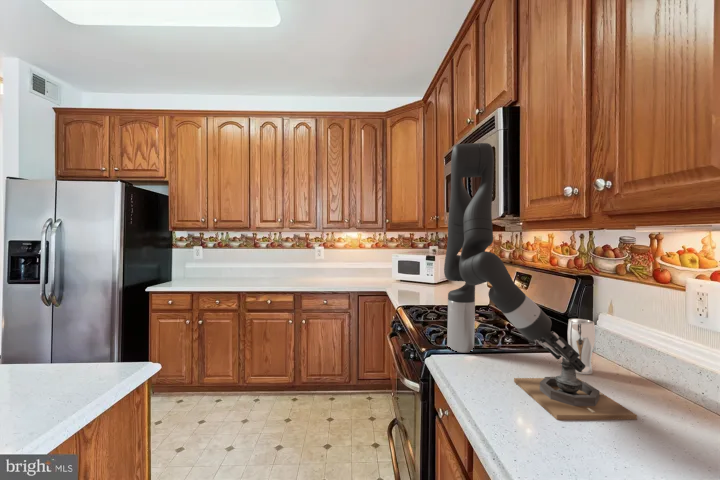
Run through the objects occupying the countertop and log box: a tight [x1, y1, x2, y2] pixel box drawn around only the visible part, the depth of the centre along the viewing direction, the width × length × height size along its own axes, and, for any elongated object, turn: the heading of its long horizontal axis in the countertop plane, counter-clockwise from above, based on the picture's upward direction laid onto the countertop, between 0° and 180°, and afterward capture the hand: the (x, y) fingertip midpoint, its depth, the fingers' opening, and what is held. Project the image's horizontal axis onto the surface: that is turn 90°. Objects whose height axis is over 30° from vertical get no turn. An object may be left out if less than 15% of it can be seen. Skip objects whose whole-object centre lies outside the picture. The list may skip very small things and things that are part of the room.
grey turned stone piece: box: [554, 352, 583, 395], centre depth 87 cm, size 6×6×12 cm
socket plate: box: [513, 376, 638, 421], centre depth 87 cm, size 20×18×3 cm
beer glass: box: [567, 318, 596, 376], centre depth 105 cm, size 7×7×15 cm
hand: (570, 362), depth 87 cm, fingers open, 8 cm apart
